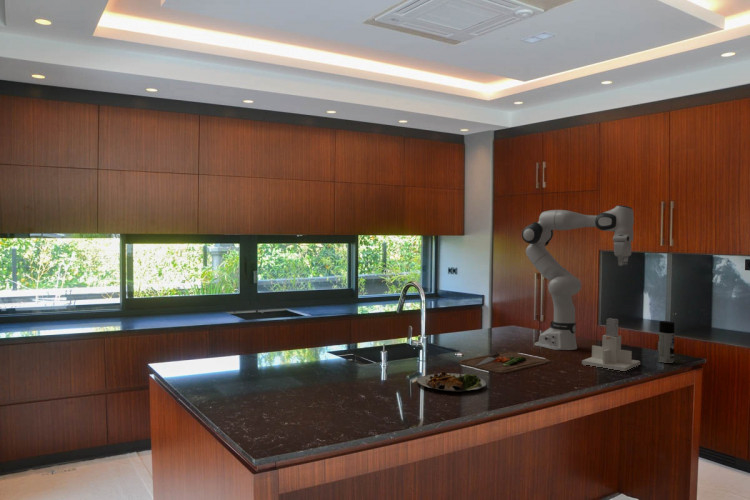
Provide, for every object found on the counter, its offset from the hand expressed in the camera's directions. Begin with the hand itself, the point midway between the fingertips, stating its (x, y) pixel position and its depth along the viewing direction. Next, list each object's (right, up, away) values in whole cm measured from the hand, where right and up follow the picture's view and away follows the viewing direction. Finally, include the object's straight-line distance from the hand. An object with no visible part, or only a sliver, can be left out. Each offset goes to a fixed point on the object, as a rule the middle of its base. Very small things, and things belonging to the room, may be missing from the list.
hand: (622, 265), depth 288 cm
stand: (-12, -47, -15) cm, 51 cm away
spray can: (+17, -48, -8) cm, 51 cm away
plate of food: (-94, -48, -55) cm, 119 cm away
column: (-12, -43, -15) cm, 47 cm away
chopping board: (-62, -47, -13) cm, 79 cm away
